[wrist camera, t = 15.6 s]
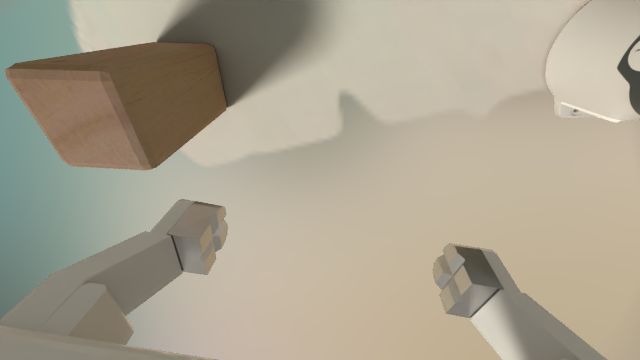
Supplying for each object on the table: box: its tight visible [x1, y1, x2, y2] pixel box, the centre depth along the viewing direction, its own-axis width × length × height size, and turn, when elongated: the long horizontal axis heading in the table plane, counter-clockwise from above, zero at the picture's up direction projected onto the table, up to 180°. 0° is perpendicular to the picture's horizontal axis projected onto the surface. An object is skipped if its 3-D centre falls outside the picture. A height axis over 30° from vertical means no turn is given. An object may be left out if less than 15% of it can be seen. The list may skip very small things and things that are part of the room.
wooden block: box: [5, 42, 226, 170], centre depth 30 cm, size 10×10×20 cm
